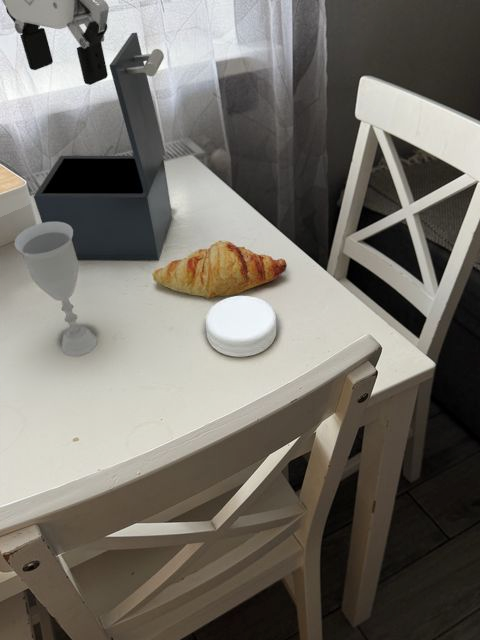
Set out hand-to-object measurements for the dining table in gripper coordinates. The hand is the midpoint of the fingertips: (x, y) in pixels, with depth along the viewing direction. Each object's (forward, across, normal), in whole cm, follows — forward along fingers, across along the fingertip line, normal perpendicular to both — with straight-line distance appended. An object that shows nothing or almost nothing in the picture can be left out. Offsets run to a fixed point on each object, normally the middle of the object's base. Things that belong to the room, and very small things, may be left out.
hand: (68, 73), depth 72 cm
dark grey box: (+33, -12, +10) cm, 36 cm away
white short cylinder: (+33, +22, +2) cm, 40 cm away
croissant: (+33, +12, +10) cm, 37 cm away
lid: (+11, -5, +15) cm, 19 cm away
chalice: (+33, +4, -12) cm, 36 cm away
